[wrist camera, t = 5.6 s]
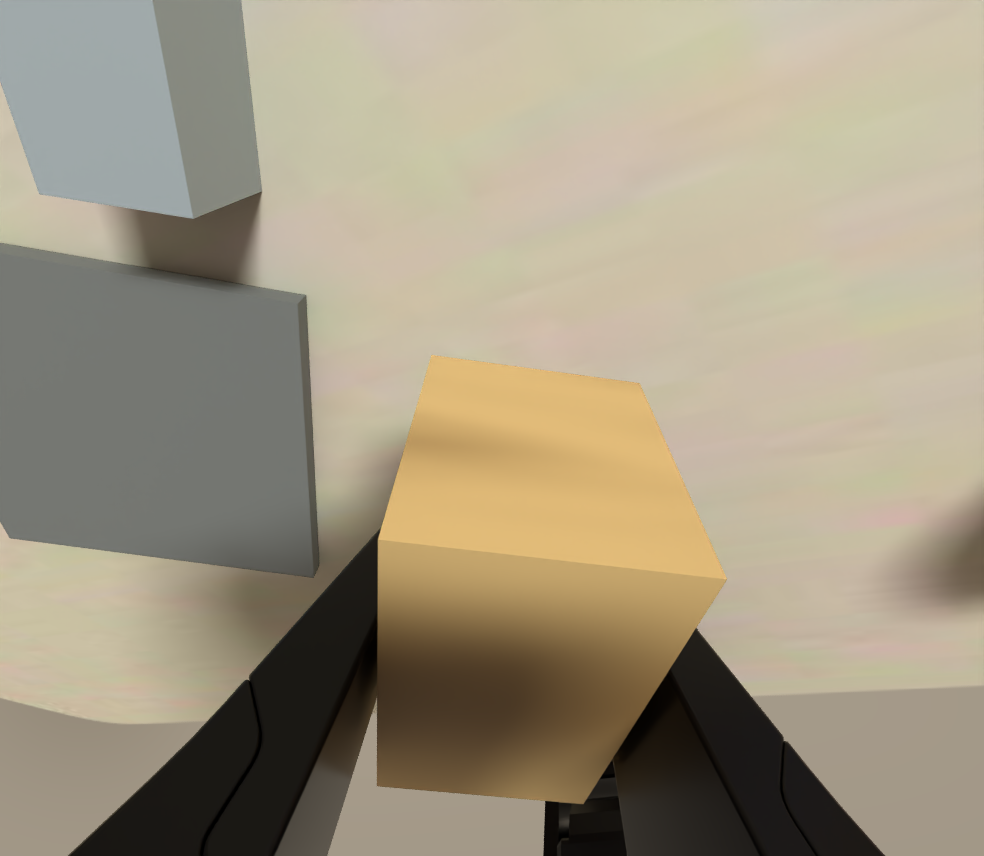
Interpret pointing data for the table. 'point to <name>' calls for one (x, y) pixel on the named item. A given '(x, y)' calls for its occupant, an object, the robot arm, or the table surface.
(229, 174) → the blue-grey block
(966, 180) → the table surface
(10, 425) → the grey mat
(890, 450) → the table surface
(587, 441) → the honey block
